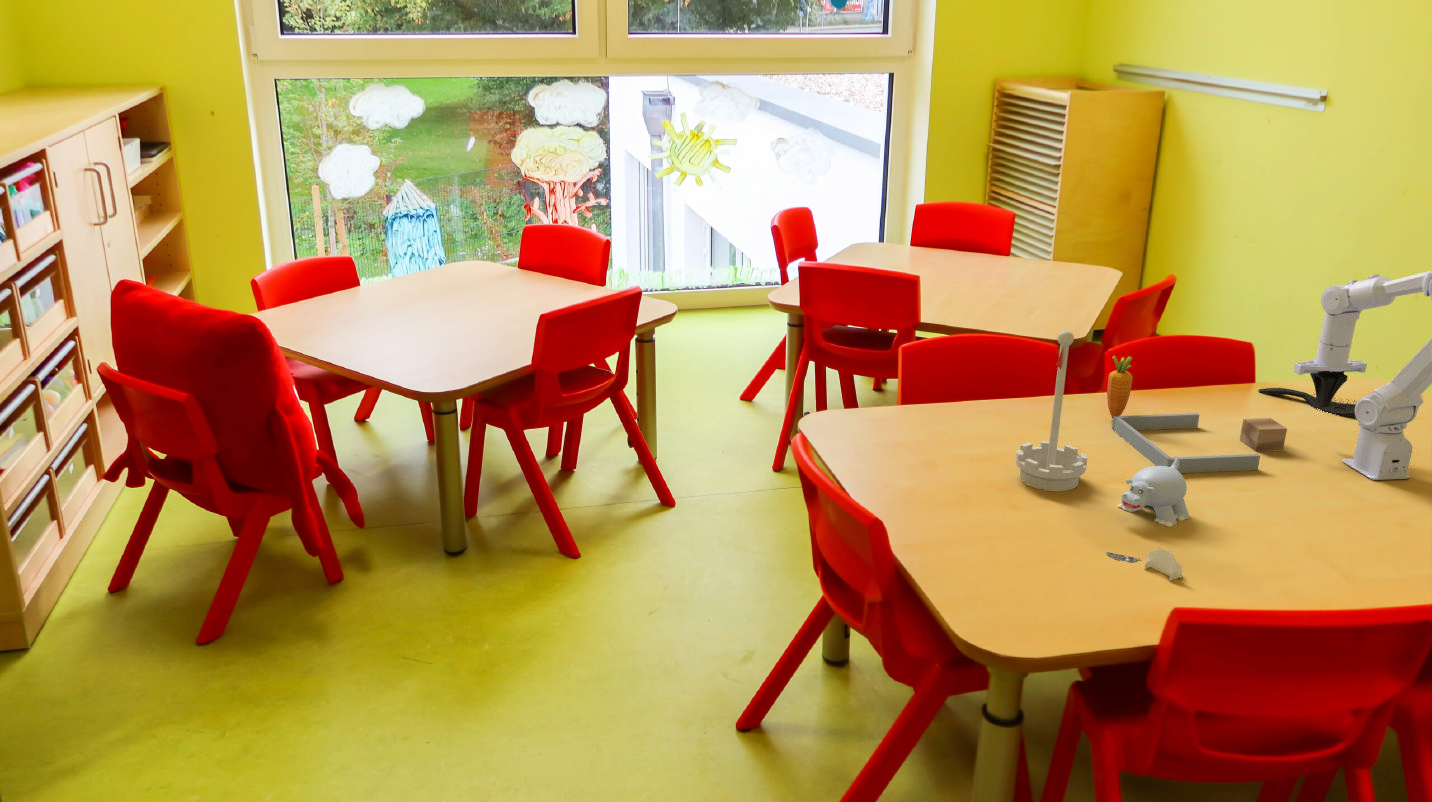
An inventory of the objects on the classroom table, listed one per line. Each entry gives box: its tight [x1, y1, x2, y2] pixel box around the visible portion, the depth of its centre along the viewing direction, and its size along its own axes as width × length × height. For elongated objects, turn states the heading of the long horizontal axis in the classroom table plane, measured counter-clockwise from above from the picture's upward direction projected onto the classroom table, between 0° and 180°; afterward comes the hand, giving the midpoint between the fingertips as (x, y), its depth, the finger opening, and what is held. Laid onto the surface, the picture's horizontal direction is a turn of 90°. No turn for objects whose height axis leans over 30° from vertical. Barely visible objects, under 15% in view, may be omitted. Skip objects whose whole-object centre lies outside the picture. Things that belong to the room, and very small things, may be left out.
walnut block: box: [1239, 417, 1288, 452], centre depth 229 cm, size 6×6×5 cm
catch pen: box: [1111, 412, 1261, 474], centre depth 228 cm, size 24×19×3 cm
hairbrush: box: [1258, 387, 1358, 418], centre depth 253 cm, size 8×4×25 cm
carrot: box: [1106, 355, 1134, 420], centre depth 241 cm, size 5×5×15 cm
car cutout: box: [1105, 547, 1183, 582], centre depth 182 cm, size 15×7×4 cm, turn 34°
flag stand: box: [1015, 329, 1088, 492], centre depth 208 cm, size 13×13×30 cm
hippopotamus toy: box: [1117, 455, 1190, 528], centre depth 198 cm, size 11×15×10 cm
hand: (1322, 405), depth 229 cm, fingers closed
